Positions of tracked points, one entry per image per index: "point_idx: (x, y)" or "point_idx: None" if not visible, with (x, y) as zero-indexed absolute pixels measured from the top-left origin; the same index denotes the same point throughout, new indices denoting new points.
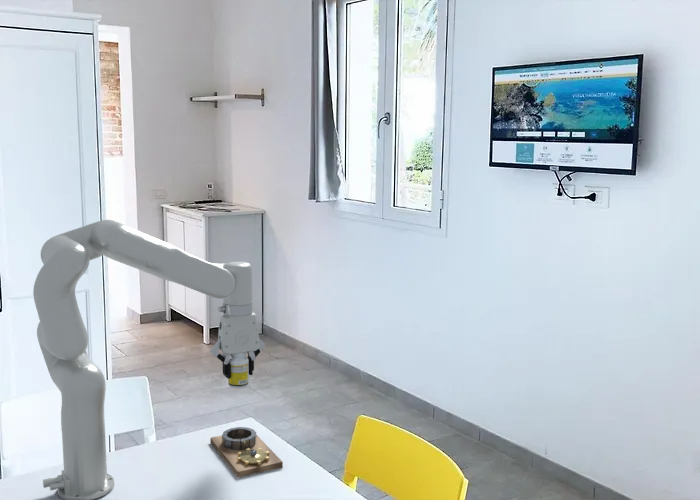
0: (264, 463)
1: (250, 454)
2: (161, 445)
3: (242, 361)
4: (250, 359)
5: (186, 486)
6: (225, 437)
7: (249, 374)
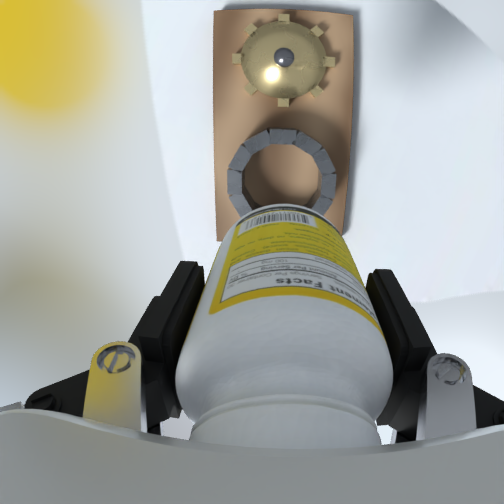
0: (265, 20)
1: (294, 58)
2: (432, 280)
3: (278, 336)
4: (152, 367)
5: (465, 59)
6: (330, 181)
7: (203, 273)
